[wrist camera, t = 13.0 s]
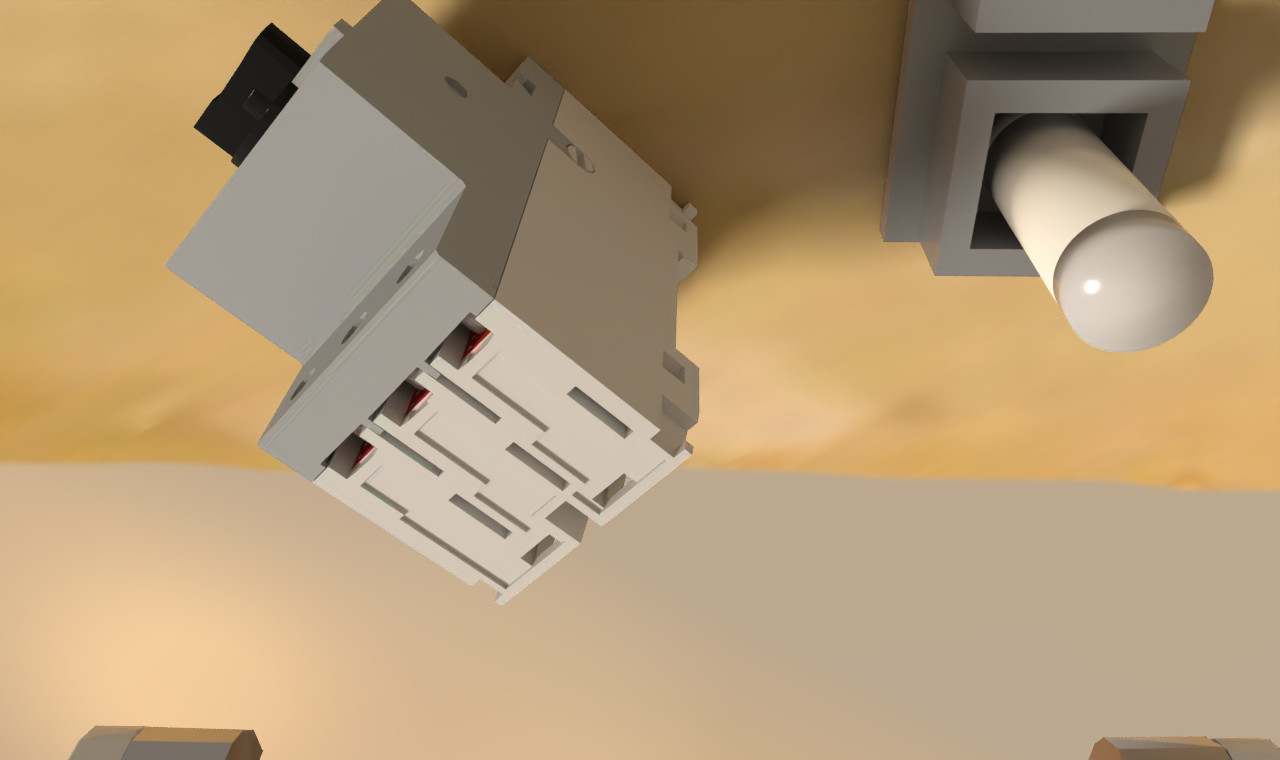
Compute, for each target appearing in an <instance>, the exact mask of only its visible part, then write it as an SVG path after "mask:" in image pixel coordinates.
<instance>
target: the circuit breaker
mask: <svg viewBox="0 0 1280 760" xmlns="http://www.w3.org/2000/svg"><path fill="white" fill-rule="evenodd" d="M564 89H565V88H563V87H562V86H561V85H560V84H559V83H558V82H557V81H556V80H555V79H554V78H552V77H551V76H550V75H549V74H548V73H547V72H546V71H545V70H544V69H543V68H541V67H540V66H539V65H538V64H537V63H536V62H535V61H534V60H533V59H532V58H530V57H528V56H527V58H526V59H525V60H524V61H523V62H522V63H521V64H520V66H519V67H518V68H517V69H516V70H515V71H514V72H513V74H512V75H511V76H510V77H509V78H508V79H507V80H506V82H505V83H504V82H503V81H501V80H500V79H499V78H498V77H497V76H496V75H495V74H494V73H492V72H491V71H490V70H489V69H488V68H487V67H486V66H485V65H483V64H482V63H481V62H480V61H479V60H478V59H477V58H476V57H474V56H473V55H472V54H471V53H470V52H469V51H468V50H466V49H465V48H464V47H463V46H462V45H461V44H460V43H459V42H457V41H456V40H455V39H454V38H453V37H452V36H451V35H450V34H448V33H447V32H446V31H445V30H444V29H443V28H442V27H441V26H439V25H438V24H437V23H436V22H435V21H434V20H433V19H431V18H430V17H429V16H428V15H427V14H426V13H425V12H424V11H422V10H421V9H420V8H419V7H418V6H417V5H416V4H415V3H413V2H412V1H411V0H382V1H380V2H379V3H378V4H377V5H376V6H375V7H374V8H373V9H372V10H371V11H370V12H369V13H368V14H367V15H365V17H363V18H362V19H361V20H360V21H359V22H358V23H357V24H356V25H355V26H354V27H353V28H352V27H351V26H350V25H349V24H348V23H346V22H345V21H344V20H343V19H341V20H340V21H338V22H337V23H336V24H335V25H334V26H333V27H332V28H331V30H330V31H329V32H328V34H327V35H326V36H325V38H324V39H323V40H322V42H321V43H320V44H319V46H318V47H317V48H316V50H315V51H314V52H313V54H312V55H310V54H309V53H307V52H306V51H305V50H304V49H303V48H301V47H300V46H299V45H298V44H297V43H295V42H294V41H293V40H292V39H291V38H289V37H288V36H287V35H286V34H285V33H283V32H282V31H281V30H280V29H279V28H277V27H276V26H275V25H274V24H273V23H271V24H269V25H268V26H267V27H266V28H265V29H264V30H263V31H262V32H261V33H260V35H259V36H258V37H257V38H256V40H255V41H254V42H253V44H252V46H251V47H250V49H249V51H248V52H247V54H246V56H245V57H244V59H243V61H242V62H241V64H240V65H239V67H238V68H237V70H236V71H235V73H234V74H233V76H232V77H231V79H230V80H229V82H228V83H227V85H226V87H225V88H224V90H223V91H222V93H220V94H219V95H218V96H217V97H215V98H214V99H213V100H212V101H211V103H210V104H209V106H208V107H207V109H206V110H205V111H204V113H203V114H202V116H201V117H200V119H199V120H198V121H197V123H196V124H195V126H194V128H195V129H196V130H198V131H199V132H200V133H202V134H203V135H204V136H206V137H207V138H208V139H210V140H211V141H212V142H214V143H215V144H216V145H218V146H219V147H220V148H222V149H223V150H224V151H226V152H227V153H228V154H230V155H231V156H232V157H233V158H232V160H231V162H232V163H233V164H234V165H236V166H237V167H238V169H237V170H236V172H235V173H234V174H233V176H232V177H231V178H230V180H229V181H228V182H227V184H226V185H225V186H224V187H223V189H222V190H221V191H220V193H219V194H218V195H217V197H216V198H215V199H214V201H213V202H212V203H211V205H210V206H209V207H208V209H207V210H206V211H205V213H204V214H203V215H202V216H201V218H200V219H199V220H198V222H197V223H196V224H195V226H194V227H193V228H192V230H191V231H190V232H189V234H188V235H187V236H186V238H185V239H184V240H183V241H182V243H181V244H180V245H179V247H178V248H177V249H176V251H175V252H174V253H173V255H172V256H171V257H170V259H169V260H168V261H167V263H166V264H165V265H166V267H167V269H169V270H170V271H171V272H173V273H174V274H176V275H177V276H179V277H180V278H181V279H183V280H184V281H186V282H187V283H188V284H190V285H191V286H193V287H194V288H196V289H197V290H198V291H200V292H201V293H203V294H204V295H205V296H207V297H208V298H210V299H211V300H213V301H214V302H215V303H217V304H218V305H220V306H221V307H223V308H224V309H225V310H227V311H228V312H230V313H231V314H232V315H234V316H235V317H237V318H238V319H240V320H241V321H242V322H244V323H245V324H247V325H248V326H250V327H251V328H252V329H254V330H255V331H257V332H258V333H259V334H261V335H262V336H264V337H265V338H267V339H268V340H269V341H271V342H272V343H274V344H275V345H277V346H278V347H279V348H281V349H282V350H284V351H285V352H286V353H288V354H289V355H291V356H292V357H294V358H295V359H296V360H298V361H299V362H301V364H302V368H301V370H300V372H299V373H298V375H297V377H296V379H295V380H294V382H293V384H292V385H291V387H290V389H289V390H288V392H287V394H286V396H285V397H284V399H283V401H282V402H281V404H280V406H279V407H278V409H277V411H276V413H275V414H274V416H273V418H272V419H271V421H270V423H269V425H268V426H267V428H266V430H265V431H264V433H263V435H262V436H261V438H260V440H259V442H258V445H259V447H260V448H261V449H262V450H264V451H265V452H267V453H268V454H270V455H271V456H273V457H275V458H276V459H278V460H279V461H281V462H282V463H284V464H285V465H287V466H288V467H290V468H291V469H293V470H294V471H296V472H297V473H299V474H300V475H302V476H303V477H305V478H306V479H308V480H309V481H311V482H312V481H313V480H314V481H313V483H314V484H316V485H317V486H319V487H320V488H322V489H323V490H325V491H326V492H328V493H329V494H331V495H332V496H334V497H335V498H337V499H338V500H340V501H342V502H343V503H345V504H346V505H348V506H349V507H351V508H352V509H354V510H355V511H357V512H358V513H360V514H361V515H363V516H365V517H366V518H368V519H369V520H371V521H372V522H374V523H375V524H377V525H379V526H380V527H381V528H383V529H384V530H386V531H388V532H389V533H390V534H392V535H394V536H395V537H397V538H398V539H400V540H401V541H403V542H404V543H406V544H407V545H409V546H410V547H412V548H413V549H415V550H417V551H418V552H420V553H421V554H423V555H424V556H426V557H427V558H429V559H430V560H432V561H433V562H435V563H437V564H438V565H440V566H441V567H442V568H444V569H446V570H447V571H449V572H450V573H452V574H453V575H455V576H457V577H458V578H459V579H461V580H462V581H464V582H465V583H467V584H469V585H470V586H472V585H473V584H475V583H476V582H477V581H478V580H482V581H483V582H485V583H487V584H488V585H489V586H491V587H492V588H494V589H495V590H497V591H498V592H497V595H496V598H495V602H496V603H498V604H499V605H501V606H502V605H504V604H505V603H506V602H507V601H509V600H510V599H511V598H512V597H514V596H515V595H516V594H517V593H519V592H520V591H521V590H522V589H524V588H525V587H526V586H527V585H529V584H530V583H531V582H533V581H534V580H535V579H536V578H538V577H539V576H540V575H541V574H543V573H544V572H545V571H546V570H548V569H549V568H550V567H551V566H553V565H554V564H555V563H556V562H558V561H559V560H560V559H562V558H563V557H564V556H565V555H567V554H568V553H569V552H570V551H572V550H573V549H574V548H575V547H577V546H578V545H579V544H580V543H581V540H582V537H583V534H584V530H585V527H586V524H587V521H588V517H589V518H590V519H592V520H593V521H594V522H596V523H597V524H599V525H600V526H603V525H604V524H606V523H607V522H608V521H609V520H611V519H612V518H613V517H614V516H616V515H617V514H618V513H619V512H621V511H622V510H623V509H625V507H627V506H628V505H630V504H631V503H632V502H633V501H634V500H636V499H637V498H638V497H640V496H641V495H642V494H643V493H645V492H646V491H647V490H649V489H650V488H651V487H652V486H654V485H655V484H656V483H657V482H659V481H660V480H661V479H662V478H664V477H665V476H666V475H667V474H668V473H670V472H671V471H672V470H674V469H675V468H676V467H678V466H679V465H680V464H681V463H683V462H684V461H685V460H686V459H688V458H689V457H690V456H691V455H692V452H693V446H692V445H691V444H689V443H688V442H687V441H685V440H686V435H687V431H688V430H689V429H690V428H691V427H693V426H694V425H695V424H696V423H698V417H699V368H698V367H697V366H696V365H695V364H694V363H692V362H691V361H690V360H689V359H688V358H686V357H685V356H684V355H683V354H682V353H680V352H679V351H678V350H677V349H676V315H677V285H678V284H680V283H681V282H682V281H683V280H684V279H685V278H686V277H687V276H688V275H690V274H691V273H692V272H693V271H694V270H695V269H696V268H697V267H698V227H696V226H695V225H694V224H693V223H692V222H691V220H692V219H693V218H694V217H695V216H696V215H697V214H698V210H697V209H696V208H695V207H694V206H693V205H692V204H691V203H690V202H689V203H688V204H687V205H686V206H685V207H684V208H682V209H681V208H680V207H679V206H678V205H677V204H676V203H675V202H674V201H673V200H671V190H672V186H671V185H670V184H669V183H668V182H667V181H665V180H664V179H663V178H662V177H661V176H660V175H659V174H658V173H657V172H656V171H655V170H653V169H652V168H651V167H650V166H649V165H648V164H647V163H646V162H645V161H644V160H642V159H641V158H640V157H639V156H638V155H637V154H636V153H635V152H634V151H633V150H631V149H630V148H629V147H628V146H627V145H626V144H625V143H624V142H623V141H622V140H621V139H619V138H618V137H617V136H616V135H615V134H614V133H613V132H612V131H611V130H610V129H608V128H607V127H606V126H605V125H604V124H603V123H602V122H601V121H600V120H599V119H597V118H596V117H595V116H594V115H593V114H592V113H591V112H590V111H589V110H588V109H586V108H585V107H584V106H583V105H582V104H581V103H580V102H579V101H578V100H577V99H576V98H574V97H573V96H572V95H571V94H570V93H569V92H568V91H567V90H566V89H565V90H564ZM626 475H627V476H629V477H630V478H631V479H632V481H630V482H629V483H628V484H627V485H625V486H624V482H625V477H626ZM623 486H624V487H623ZM554 539H557V541H556V542H555V543H554V544H553V542H554Z"/></svg>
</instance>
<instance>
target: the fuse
mask: <svg viewBox="0 0 1280 760" xmlns="http://www.w3.org/2000/svg"><path fill="white" fill-rule="evenodd" d="M982 182H983V184H984V185H985V187H986V188H987V190H988V192H989V193H990V195H991V197H992V198H993V200H994V201H995V203H996V205H997V206H998V208H999V210H1000V211H1001V213H1002V214H1003V216H1004V218H1005V219H1006V221H1007V223H1008V224H1009V226H1010V227H1011V229H1012V231H1013V232H1014V234H1015V236H1016V237H1017V239H1018V240H1019V242H1020V244H1021V245H1022V247H1023V249H1024V250H1025V252H1026V253H1027V255H1028V257H1029V258H1030V260H1031V262H1032V263H1033V265H1034V266H1035V268H1036V270H1037V271H1038V273H1039V275H1040V276H1041V278H1042V279H1043V281H1044V283H1045V284H1046V286H1047V288H1048V289H1049V291H1050V292H1051V294H1052V296H1053V297H1054V299H1055V301H1056V302H1057V304H1058V306H1059V307H1060V309H1061V310H1062V312H1063V314H1064V315H1065V317H1066V319H1067V320H1068V322H1069V323H1070V325H1071V327H1072V328H1073V330H1074V331H1075V332H1076V334H1077V335H1078V336H1079V337H1080V338H1081V339H1082V340H1083V341H1085V342H1086V343H1088V344H1089V345H1091V346H1093V347H1096V348H1098V349H1101V350H1104V351H1110V352H1120V353H1124V352H1136V351H1141V350H1145V349H1149V348H1152V347H1155V346H1158V345H1160V344H1162V343H1164V342H1166V341H1168V340H1170V339H1172V338H1173V337H1175V336H1177V335H1178V334H1179V333H1181V332H1182V331H1184V330H1185V329H1186V328H1187V327H1188V326H1189V325H1190V324H1191V323H1192V322H1193V321H1194V320H1195V319H1196V318H1197V317H1198V315H1199V314H1200V313H1201V311H1202V310H1203V308H1204V307H1205V305H1206V303H1207V301H1208V299H1209V296H1210V294H1211V290H1212V286H1213V268H1212V264H1211V261H1210V258H1209V256H1208V254H1207V253H1206V251H1205V250H1204V249H1203V248H1202V246H1201V245H1200V244H1199V243H1198V242H1197V241H1196V240H1195V239H1194V238H1193V237H1192V236H1191V235H1190V234H1189V233H1188V232H1187V231H1186V230H1185V229H1184V227H1183V226H1182V225H1181V224H1180V223H1179V222H1178V221H1177V220H1176V219H1175V218H1174V217H1173V216H1172V215H1171V214H1170V213H1169V212H1168V211H1167V210H1166V208H1165V207H1164V206H1163V205H1162V204H1161V203H1160V202H1159V201H1158V200H1157V199H1156V198H1155V197H1154V196H1153V195H1152V194H1151V193H1150V192H1149V191H1148V189H1147V188H1146V187H1145V186H1144V185H1143V184H1142V183H1141V182H1140V181H1139V180H1138V179H1137V178H1136V177H1135V176H1134V175H1133V174H1132V173H1131V172H1130V170H1129V169H1128V168H1127V167H1126V166H1125V165H1124V164H1123V163H1122V162H1121V161H1120V160H1119V159H1118V158H1117V157H1116V156H1115V155H1114V154H1113V153H1112V151H1111V150H1110V149H1109V148H1108V147H1107V146H1106V145H1105V144H1104V143H1103V142H1102V141H1101V140H1100V139H1099V138H1098V137H1097V136H1096V135H1095V134H1094V132H1093V131H1092V130H1091V129H1090V128H1089V127H1088V126H1087V125H1086V124H1085V123H1084V122H1083V121H1082V120H1081V119H1080V118H1079V117H1078V116H1077V115H1076V113H998V114H997V115H995V116H994V121H993V126H992V132H991V137H990V142H989V148H988V153H987V159H986V164H985V169H984V175H983V180H982Z"/></svg>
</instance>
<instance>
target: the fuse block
mask: <svg viewBox="0 0 1280 760" xmlns="http://www.w3.org/2000/svg"><path fill="white" fill-rule="evenodd" d="M1214 2H1215V0H909V6H908V13H907V21H906V29H905V37H904V44H903V52H902V60H901V68H900V75H899V83H898V91H897V99H896V106H895V114H894V122H893V130H892V137H891V145H890V153H889V161H888V168H887V176H886V184H885V192H884V199H883V207H882V215H881V223H880V232H881V235H882V238H883V241H884V242H920V243H921V245H922V247H923V250H924V252H925V254H926V257H927V259H928V261H929V264H930V266H931V268H932V271H933V273H934V275H935V276H1029V277H1041V276H1040V275H1039V273H1038V271H1037V270H1036V268H1035V266H1034V265H1033V263H1032V262H1031V260H1030V258H1029V257H1028V255H1027V253H1026V252H1025V250H1024V249H1023V247H1022V245H1021V244H1020V242H1019V240H1018V239H1017V237H1016V236H1015V234H1014V232H1013V231H1012V229H1011V227H1010V226H1009V224H1008V223H1007V221H1006V219H1005V218H1004V216H1003V214H1002V213H1001V211H1000V210H999V208H998V206H997V205H996V203H995V201H994V200H993V198H992V197H991V195H990V193H989V192H988V190H987V188H986V187H985V185H984V184H983V182H982V180H983V175H984V169H985V164H986V159H987V153H988V148H989V142H990V137H991V132H992V126H993V121H994V116H995V115H997V114H998V113H1076V115H1077V116H1078V117H1079V118H1080V119H1081V120H1082V121H1083V122H1084V123H1085V124H1086V125H1087V126H1088V127H1089V128H1090V129H1091V130H1092V131H1093V132H1094V134H1095V135H1096V136H1097V137H1098V138H1099V139H1100V140H1101V141H1102V142H1103V143H1104V144H1105V145H1106V146H1107V147H1108V148H1109V149H1110V150H1111V151H1112V153H1113V154H1114V155H1115V156H1116V157H1117V158H1118V159H1119V160H1120V161H1121V162H1122V163H1123V164H1124V165H1125V166H1126V167H1127V168H1128V169H1129V170H1130V172H1131V173H1132V174H1133V175H1134V176H1135V177H1136V178H1137V179H1138V180H1139V181H1140V182H1141V183H1142V184H1143V185H1144V186H1145V187H1146V188H1147V189H1148V191H1149V192H1150V193H1151V194H1152V195H1153V196H1154V197H1155V198H1156V199H1157V198H1158V195H1159V191H1160V188H1161V184H1162V181H1163V178H1164V174H1165V171H1166V167H1167V164H1168V160H1169V157H1170V153H1171V150H1172V146H1173V143H1174V140H1175V136H1176V133H1177V129H1178V126H1179V122H1180V119H1181V115H1182V112H1183V109H1184V105H1185V102H1186V98H1187V95H1188V91H1189V88H1190V84H1191V81H1192V80H1191V79H1189V78H1188V77H1187V76H1185V72H1186V69H1187V65H1188V62H1189V58H1190V55H1191V51H1192V48H1193V44H1194V41H1195V37H1196V34H1197V32H1206V29H1207V26H1208V22H1209V19H1210V15H1211V12H1212V8H1213V5H1214Z"/></svg>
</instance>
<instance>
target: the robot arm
mask: <svg viewBox="0 0 1280 760" xmlns="http://www.w3.org/2000/svg"><path fill="white" fill-rule="evenodd" d="M262 752H263V750H262V749H261V746H260V744H259V741H258V739H257V737H256V734H255V732H254V730H236V729H201V728H200V729H199V728H167V727H146V726H145V727H144V726H141V727H140V726H95V727H94V728H93V729H91V730H90V731H89V732H88V733H87V734H86V735H85V736H84V737H83V738H81V739H80V740H79V742H78V743H77V745H76V746H75V748H74V750H73V752H72V753H71V755H70V757H69V758H68V760H260V757H261V755H262ZM1089 760H1280V748H1279V747H1278V746H1277V745H1275V744H1274V743H1273V742H1272V741H1271V740H1269V739H1261V738H1224V739H1223V738H1219V739H1209V738H1207V737H1104V738H1102V739H1101V740H1099V741H1098V742H1097V743H1095V745H1094V747H1093V750H1092V752H1091V755H1090V758H1089Z"/></svg>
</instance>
